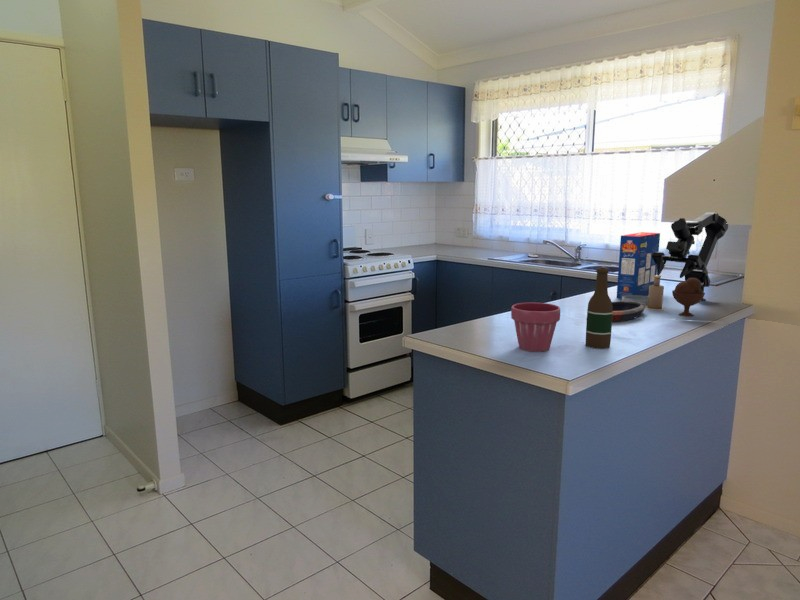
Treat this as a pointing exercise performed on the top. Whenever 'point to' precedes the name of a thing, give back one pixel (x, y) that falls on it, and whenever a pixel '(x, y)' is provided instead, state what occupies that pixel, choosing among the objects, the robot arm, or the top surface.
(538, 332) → the plant pot
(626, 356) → the top surface
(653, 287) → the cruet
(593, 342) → the beer bottle
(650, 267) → the pasta box
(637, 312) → the dish
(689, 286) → the ice cream bowl
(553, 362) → the top surface
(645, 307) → the coaster
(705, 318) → the top surface
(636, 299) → the slate dish
